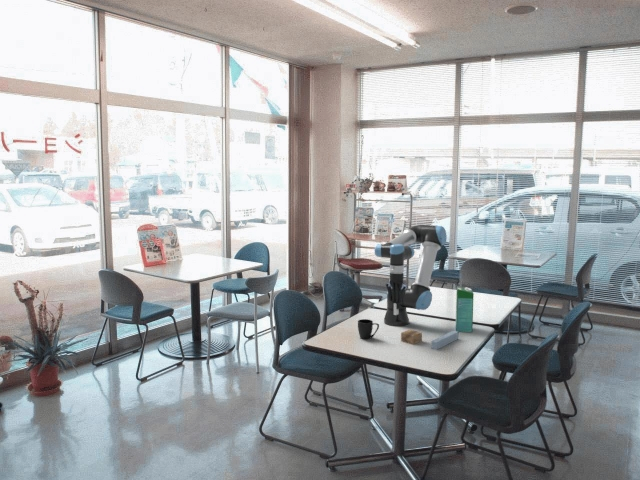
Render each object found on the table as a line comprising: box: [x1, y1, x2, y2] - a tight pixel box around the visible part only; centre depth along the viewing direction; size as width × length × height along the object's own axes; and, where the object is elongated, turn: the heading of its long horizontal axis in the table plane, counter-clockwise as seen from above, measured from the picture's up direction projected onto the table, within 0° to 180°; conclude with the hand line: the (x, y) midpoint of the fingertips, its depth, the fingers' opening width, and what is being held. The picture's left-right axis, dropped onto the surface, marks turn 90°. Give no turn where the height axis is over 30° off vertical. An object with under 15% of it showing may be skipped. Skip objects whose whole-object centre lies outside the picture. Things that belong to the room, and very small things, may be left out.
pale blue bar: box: [430, 330, 459, 351], centre depth 290 cm, size 3×24×4 cm, turn 139°
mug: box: [357, 318, 380, 340], centre depth 300 cm, size 8×12×10 cm
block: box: [400, 329, 423, 345], centre depth 294 cm, size 8×8×5 cm
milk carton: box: [455, 285, 475, 333], centre depth 314 cm, size 9×9×25 cm
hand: (396, 314), depth 299 cm, fingers closed
